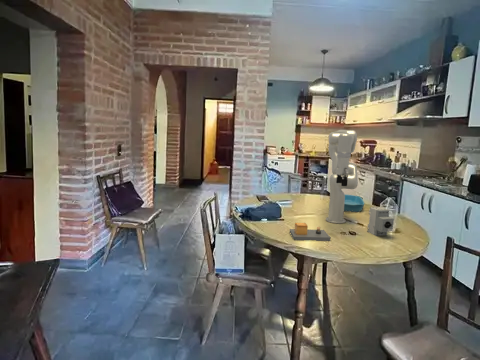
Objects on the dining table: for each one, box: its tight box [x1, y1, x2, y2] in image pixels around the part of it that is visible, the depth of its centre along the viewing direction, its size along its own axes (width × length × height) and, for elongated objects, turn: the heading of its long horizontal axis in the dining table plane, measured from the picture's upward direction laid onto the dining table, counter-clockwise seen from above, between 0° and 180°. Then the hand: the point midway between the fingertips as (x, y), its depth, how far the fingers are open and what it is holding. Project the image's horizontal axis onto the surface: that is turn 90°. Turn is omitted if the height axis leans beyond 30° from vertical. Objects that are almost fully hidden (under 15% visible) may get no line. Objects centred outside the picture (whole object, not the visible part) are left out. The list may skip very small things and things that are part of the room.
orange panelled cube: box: [294, 222, 309, 235], centre depth 195 cm, size 6×6×5 cm
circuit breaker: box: [366, 206, 395, 237], centre depth 202 cm, size 8×14×15 cm, turn 15°
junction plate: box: [289, 226, 331, 242], centre depth 196 cm, size 14×20×6 cm
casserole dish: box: [344, 193, 365, 213], centre depth 271 cm, size 37×22×7 cm, turn 168°
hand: (341, 184), depth 204 cm, fingers open, 9 cm apart
